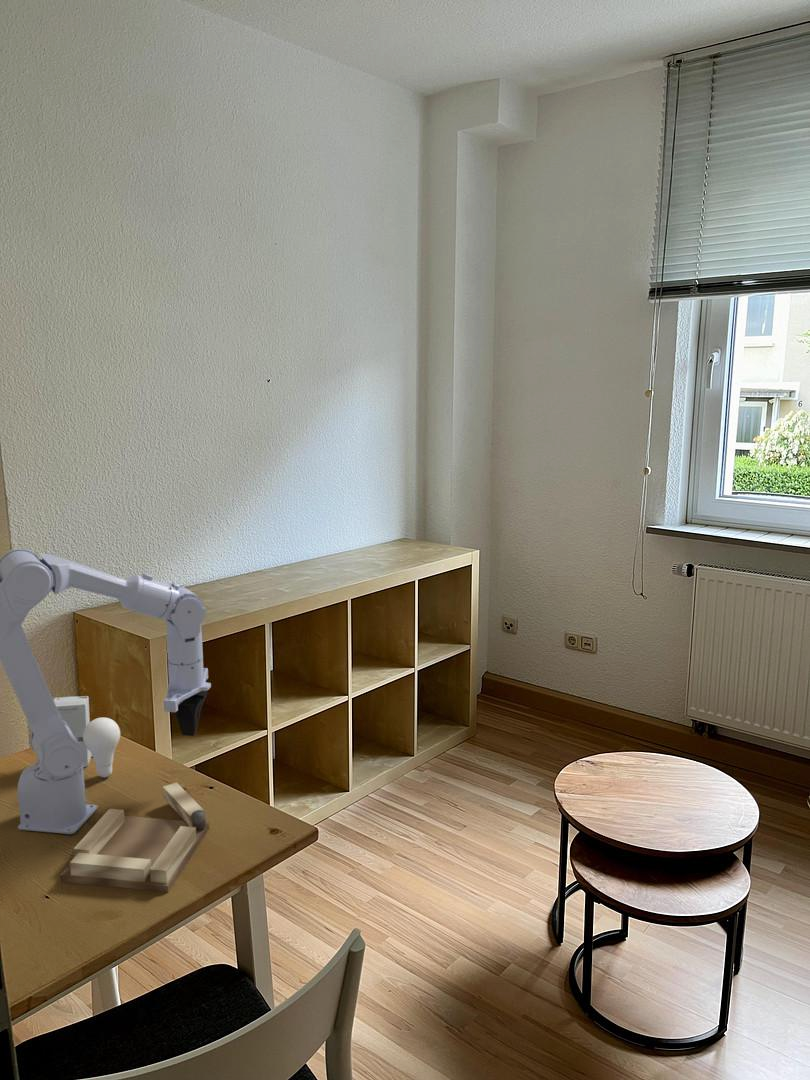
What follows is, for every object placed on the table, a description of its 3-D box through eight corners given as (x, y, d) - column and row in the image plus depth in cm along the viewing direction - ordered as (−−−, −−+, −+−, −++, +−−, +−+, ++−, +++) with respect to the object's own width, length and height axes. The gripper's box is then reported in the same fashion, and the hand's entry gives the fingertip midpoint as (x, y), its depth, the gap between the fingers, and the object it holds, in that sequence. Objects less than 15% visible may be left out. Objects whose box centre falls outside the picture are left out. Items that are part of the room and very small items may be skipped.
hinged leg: (209, 826, 132) (208, 813, 131) (194, 831, 130) (194, 818, 130) (177, 793, 142) (176, 781, 141) (163, 797, 140) (162, 785, 140)
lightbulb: (111, 787, 146) (107, 728, 143) (79, 783, 147) (74, 724, 144) (129, 770, 152) (125, 713, 149) (98, 766, 153) (94, 710, 150)
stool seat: (60, 881, 120) (58, 862, 119) (113, 820, 136) (112, 803, 135) (168, 892, 118) (166, 873, 117) (209, 828, 134) (208, 811, 133)
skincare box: (53, 770, 151) (47, 707, 149) (58, 758, 156) (52, 697, 153) (89, 767, 153) (84, 704, 150) (93, 755, 157) (88, 694, 154)
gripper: (191, 676, 134) (195, 755, 137) (223, 645, 148) (226, 717, 151) (149, 674, 135) (154, 752, 138) (184, 643, 149) (188, 714, 152)
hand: (189, 733), depth 145 cm, fingers closed
